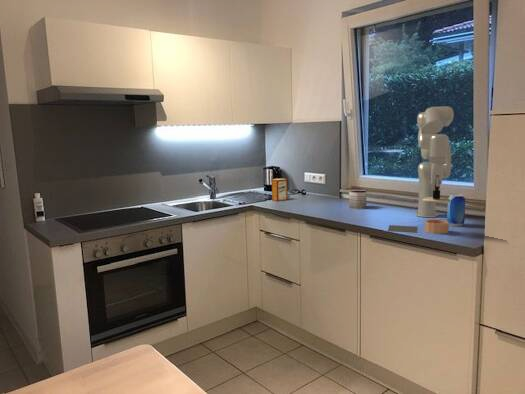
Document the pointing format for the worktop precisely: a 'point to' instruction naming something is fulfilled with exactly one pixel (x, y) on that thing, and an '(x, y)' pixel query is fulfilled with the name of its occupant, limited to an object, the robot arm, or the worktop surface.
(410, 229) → the mat
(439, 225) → the bowl
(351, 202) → the ribbed plant pot
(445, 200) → the lid
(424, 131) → the robot arm
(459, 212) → the beer can
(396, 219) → the worktop surface
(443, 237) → the worktop surface
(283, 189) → the baking soda box
